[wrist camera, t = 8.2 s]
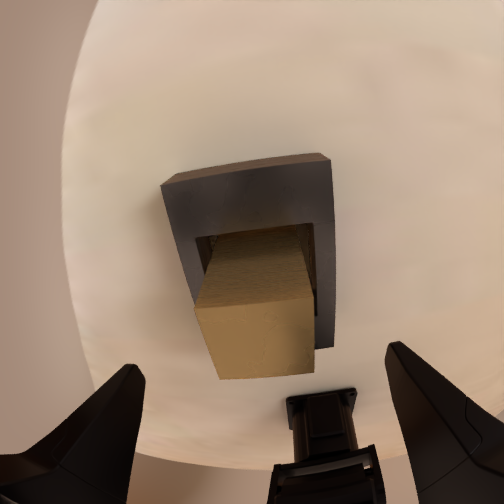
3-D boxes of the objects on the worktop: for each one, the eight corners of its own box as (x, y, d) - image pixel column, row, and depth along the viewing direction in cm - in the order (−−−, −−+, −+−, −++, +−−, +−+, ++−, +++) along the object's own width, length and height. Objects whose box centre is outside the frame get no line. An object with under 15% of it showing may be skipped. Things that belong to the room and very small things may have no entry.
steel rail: (327, 320, 18) (333, 346, 16) (218, 331, 19) (214, 358, 17) (319, 152, 13) (330, 159, 11) (176, 173, 14) (160, 185, 12)
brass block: (298, 281, 17) (314, 372, 11) (233, 288, 17) (219, 379, 11) (293, 219, 15) (313, 297, 9) (220, 228, 15) (194, 308, 9)
